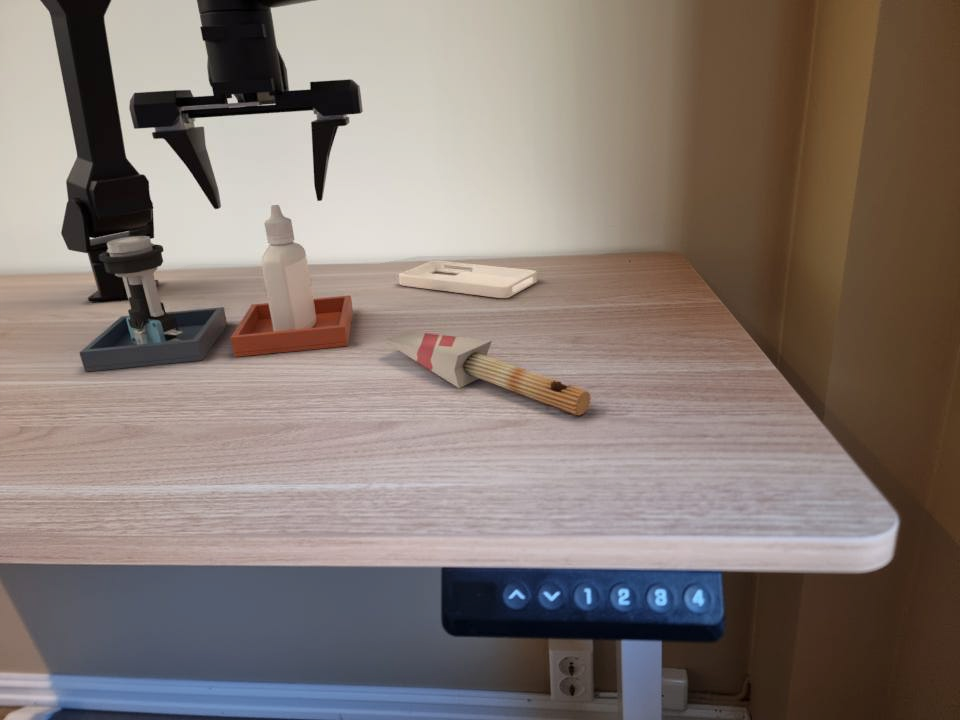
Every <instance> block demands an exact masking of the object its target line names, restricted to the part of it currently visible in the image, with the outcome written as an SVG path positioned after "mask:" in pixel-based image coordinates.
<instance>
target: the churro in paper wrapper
mask: <svg viewBox="0 0 960 720" xmlns="http://www.w3.org/2000/svg"><path fill="white" fill-rule="evenodd" d="M492 341H493V340H488V339H480V338H473V337H472V338H471V337H462V336H455V335H446V334H438V333H437V334H436V333H427V332H419V331H418V332H417V331H411V330H406V331H404V332H401V333H398V334H395V335H394V336H391V337H388V338H386V339H383V342H385V343H387V344H388V345H390V346H392V347H393V348H394V349H396V350H398V351H399V352H401V353H402V354H404V355H406V356H407V357H409V358H410V359H412V360H413V361H415V362H416V363H418V364H420V365H421V366H423V367H425V368H426V369H428V370H430V371H431V372H432V373H434V374H436V375H437V376H438V377H440V378H442V379H443V380H445V381H447V382H448V383H450V384H452V386H454V387H456V388H458V389H461V388H463V387H465V386H467V385H470V384H471V383H473V382H475V381H477V380H482V381H485V382H488V383H490V384H493V385H496V386H499V387H500V388H501V387H502V388H504V389H506V390H509V391H512V392H513V393H517V394H519V395H522V396H525V397H526V398H527V397H528V398H529V399H532V400H535V401H538V402H540V403H543V404H546V405H548V406H554V407H556V408H559V410H562V411H565V412H567V413H570V414H572V415H575V416H581V415H584V414H585V413H586V412H587V411H588V409H589V408H590V405H591V400H592V397H591V394H590V392H589V391H588V390H585V389H583V388H580V387H577V386H573V385H571V384H569V385H567V384H564V383H562V382H561V381H559V380H556V379H554V378H550V377H548V376H545V375H542V374H540V373H536V372H533V371H531V370H527V369H524V368H521V367H519V366H516V365H513V364H510V363H508V362H504V361H501V360H498V359H495V358H493V357H490V356H487V355H488V352H489V351H490V347H491V345H492Z"/></svg>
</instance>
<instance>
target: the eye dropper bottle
mask: <svg viewBox="0 0 960 720" xmlns="http://www.w3.org/2000/svg"><path fill="white" fill-rule="evenodd" d="M282 212H283V211H282V210H281V206H280V204H272V205H271V206H270V216H269V218H268V219H267V220H265V221H264V222H263V224H264V229H265V234H266V240H267V244H269V245H268V246H267V248H266V249H265V251H263V255H262V257H261V269H262V274H263V280H264V287H265V291H266V297H267V303H269V308H270V314H271V319H272V324H273V329H274V332H275V331H286V330H296V329H306V328H313V327H314V325H315V323H316V312H315V306H314V299H315V298H314V294H313V287H312V282H311V277H310V276H311V275H310V269H309V264H308V258H307V253H306V250H305V248H304V247H303V246H302V245H301V244H300V243H298V242H295V235H294V229H293V223H292V219H291V218H290V217H286V216H285V215H284V214H283V213H282Z"/></svg>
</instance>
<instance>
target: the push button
mask: <svg viewBox="0 0 960 720" xmlns="http://www.w3.org/2000/svg"><path fill="white" fill-rule="evenodd" d="M107 246H108V250H107V251H106V252H103V253H101V254H100V255H99V259H100V261H103V262H104V266H105V270H106V272H108V273H111V274H115V275H116V276H118V277H122V278H123V281H124V285H125V289H126V292H127V296H128V298H127V299H128V303H129V307H130V308H129V309H128V310H127V313H128V316H129V317H127V318H126V321H127V324H128V328H129V332H130V335H131V340H132V342H133V343H135V344H137V345H139V344H150V343H160V342H171V341H181V340H179V339H177V337H176V335H178V334H181V333H182V332H181V331H178V326H177V322H176V318H175V317H174V316H173V315H167V314H166V312H167V311H166V309H165V305H164V303H163V302H161V300H160V295H159V291H158V288H157V285H156V283H155V280H156V279H155V276H154V274H155V272H156V271H157V270H158V268H159V267H161V266H162V264H163V262H164V259H163V255H162V253H164V246H163V245H161V244H154V243H152V239H150V237H148V236H133V237H125V238H120V239H115V240H112V241H109V242H108V243H107Z"/></svg>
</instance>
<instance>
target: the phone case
mask: <svg viewBox="0 0 960 720" xmlns="http://www.w3.org/2000/svg"><path fill="white" fill-rule="evenodd" d="M446 266H453V267H463V268H471V270H468V269H457V268H450V267H446ZM435 272H437V273H435ZM441 273H446V274H441ZM450 274H454V275H450ZM398 280H399V285H400V286H403V287H410V288H417V289H426V290H434V291H443V292H450V293H458V294H466V295H473V296H482V297H488V298H495V299H496V298H497V299H509V298H510V297H513V296H514V295H516V294H519V293H520V292H522V291H523V290H525V289H527V288H528V287H531V286H533V285H534V284H536V283H537V282H538V272H537V271H536V270H534V269H527V268H526V269H525V268H515V267H505V266H497V265H496V266H495V265H486V264H475V263H466V262H458V261H457V262H456V261H447V260H446V261H445V260H431V261H428V262H425V263H423V264H421V265H418V266H416V267H413V268H410V269H408V270H406V271H403V272H400V273H398Z"/></svg>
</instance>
